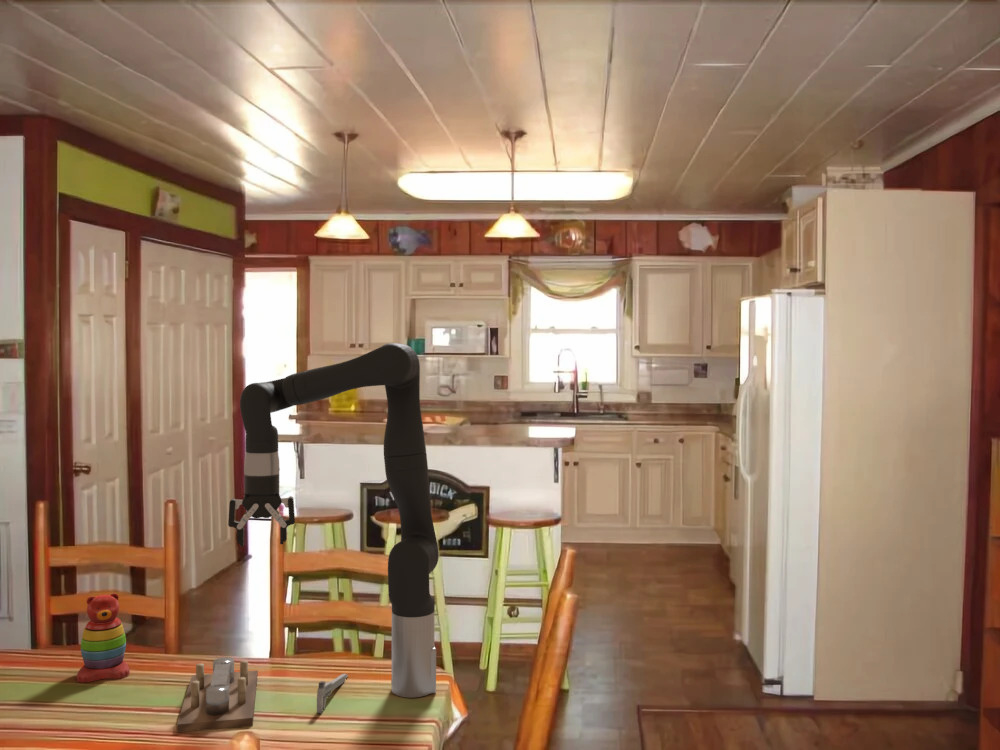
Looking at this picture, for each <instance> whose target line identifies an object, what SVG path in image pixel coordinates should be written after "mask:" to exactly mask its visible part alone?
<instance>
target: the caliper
mask: <svg viewBox="0 0 1000 750" xmlns="http://www.w3.org/2000/svg"><path fill="white" fill-rule="evenodd" d="M347 677H348V678H349V676H348V674H347V673H342V674H340V675H338V676H337V677H336V678H334V679H333V680H331V681H330V682H329V681H328V682H327V681H325V680H320V682H319V681H318V688H317V691H316V692H317V693H316V714H323V711H322V710H324V711H325V710H326V703H327V698H329V697H331V696H332V692H333V691H334V690H335V689H336V688H338V687H339V686H341V685H343V684H344V683H345V682H346V681H345V679H346V678H347ZM348 678H347V679H348ZM347 679H346V680H347ZM344 681H345V682H344ZM343 682H344V683H343Z"/></svg>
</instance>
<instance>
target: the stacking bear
mask: <svg viewBox="0 0 1000 750" xmlns="http://www.w3.org/2000/svg"><path fill="white" fill-rule="evenodd" d="M118 600H119V595H118V594H117V593H111V594H99V595H97V596H92V595H91V596H89V597H88V598H86V605H87V608H86V613H87V617H88V619H89V621H88V622H87V623H86V625H85V627H84V628H83V632H82V636H81V641H80V654H81V657H82V662H83V665H82V667H80V668H79V670H78V671H77V673H76V682H77V683H82V684H83V683H91V682H94V681H99V680H105V679H114V680H115V679H116V680H117V679H118V680H119V679H123V678H126V677H127V676H129V675H130V673H131V672H130V667H129V665H128V663H127V662H126V661H124V658H125V653H126V652H125V651H126V647H127V638H126V637H127V636H126V632H125V629H124V625H123V623H122V620H121V619H120V618H118V615H119V612H120V603H119V601H118Z"/></svg>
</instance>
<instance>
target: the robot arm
mask: <svg viewBox="0 0 1000 750" xmlns="http://www.w3.org/2000/svg"><path fill="white" fill-rule="evenodd" d="M420 367H421V365H420V359H419V357H418V354H417V353H416V351H415V350H414V349H413V348H412V347H411V346H409V345H407V344H403V343H396V342H395V343H394V342H392V343H391V342H390V343H385V344H383V345H382V346H378V348H375V349H373V350H371V351H369V352H367V353H364V354H362V355H360V356H358V357H355V358H352V359H349V360H346V361H342V362H339V363H335V364H330V365H329V364H328V365H324V366H321V367H315V368H312V369H308V370H304V371H301V372H296V373H292V374H290V375H287V376H286V377H284V378H279V379H275V380H270V381H266V382H265V381H264V382H254V383H253V382H252V383H250V384H248V385H246V386H245V387H244V389H243V390H242V392H241V395H240V400H239V406H240V407H239V409H240V415H241V419H242V423H243V428H244V431H245V455H244V466H243V467H244V468H243V472H244V475H243V476H244V480H243V481H244V491H243V492H244V497H243V498H242V499H236V498H234V497H233V498H231V499H230V500H229V504H228V507H229V508H228V520H227V521H228V523H227V526H228V527H229V528H234V529H236V542H237V544H239V545H240V547H244V545H245V525H246V524H247V522H248V521H249V520H250V519H251V518H254V519H260V518H264V519H269V518H271V517H273V519H274V520H275V521H276V522H277V523H278V524H279V526H280V527H279V530H280V531H279V536H280V537H279V538H280V539H279V542H280V543H279V544H280V545H284V543H285V542H286V541H287V539H288V538H287V535H288V533H287V531H288V530H287V528H288V527H289V526H292V525H295V522H296V517H295V503H294V499H295V498H294V497H293V496H291V495H289V496H288V497H281V495H280V470H281V469H280V456H279V432H278V428H277V427H276V426H274V425H273V424H272V415H271V413H276V412H279V411H282V410H285V409H288V408H291V407H293V406H294V407H295V406H301V405H302V406H303V405H305V404H309V403H314V402H317V401H318V402H319V401H322V400H325V399H328V398H330V397H333V396H336V395H339V394H342V393H344V392H348V391H351V390H354V389H355V390H356V389H359V388H366V387H376V386H377V387H378V386H379V387H380V386H384V388H385V395H386V401H387V415H386V417H387V418H386V424H385V430H384V437H383V460H384V470H385V478H386V482H387V484H388V485H387V486H388V487H389V488H388V489H389V491H390V492H391V494H392V496H393V499H394V502H395V504H396V506H397V509H398V513H399V518H400V519H399V521H400V537H401V538H400V541H399V542H397V543H396V544H395V545H394V546H393V547H392V548H391V549H390V552H389V553H388V554H389V555H388V559H387V582H388V584H387V586H388V587H387V588H388V598H389V602H390V603H391V682H390V683H391V692H392V694H394V695H395V696H398V697H402V698H409V699H410V698H420V697H425V696H428V695H430V694H436V692H437V648H436V646H435V616H436V615H435V608H436V606H435V598H434V596H433V595H431V593H430V592H431V591H430V573H432V572H433V571H435V568H436V567H437V565H438V563H439V559H440V552H439V544H438V540H437V535H436V530H435V526H434V520H433V516H432V515H433V514H432V508H431V505H432V504H431V491H430V481H429V466H428V455H427V447H426V440H425V439H426V438H425V431H424V424H423V418H422V411H421V403H420V402H421V401H420V400H421V399H420V397H421V396H420V395H421V393H420V389H421V387H420V383H421V382H420V379H421V378H420V377H421V376H420V375H421V374H420V373H421V368H420ZM282 504H283V505H284V507H285V508H286V509H287V508H288V519H285V518H284V517H283V516H282V514H281V513H280V511H279V507H280V506H281V505H282ZM241 505H242V506H243V509H244V510H246V512H245V513H244V514H243V516H242V517H241V518H240V520H239V521H238V520H236V510H238V509H239V508H240V506H241Z"/></svg>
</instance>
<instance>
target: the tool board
mask: <svg viewBox="0 0 1000 750" xmlns="http://www.w3.org/2000/svg"><path fill="white" fill-rule="evenodd" d="M239 662H240V663H239V668H240V670H239V671H234V682H232V683H230V688H229V711H228V712H227V713H225V714H222V715H216V716H212V715H208V714H206V689H207V688H208V687H210V686H211V682H212V677H213V673H207V674H205V663H196V665H195V674H194V675H193V674H192V675H191V677H190V681H189V684H188V687H187V689H186V694H185V697H184V700H183V703H182V707H181V710H180V712H179V713H180V714H179V716H178V720H177V723H176V733H182V732H183V733H185V732H193V731H194V732H195V731H196V732H197V731H205V730H215V729H216V730H217V729H225V728H226V729H228V728H229V729H231V728H239V727H249V726H250V727H251V726H252V727H253V724H254V717H255V716H254V715H255V708H256V705H255V704H256V697H257V696H256V695H257V688H256V687H257V685H258V678H257V677H258V671H259V670H249V661H248V660H244V659H243V660H240V661H239Z"/></svg>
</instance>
